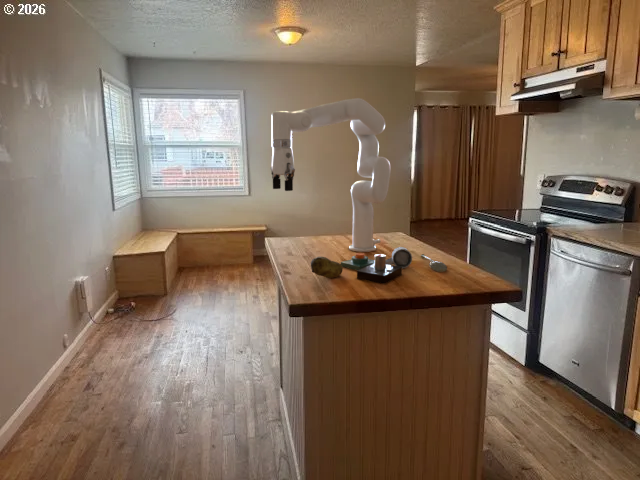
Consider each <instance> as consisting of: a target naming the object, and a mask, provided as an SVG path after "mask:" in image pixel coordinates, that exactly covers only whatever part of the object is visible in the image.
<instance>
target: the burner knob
mask: <svg viewBox="0 0 640 480" xmlns="http://www.w3.org/2000/svg"><path fill="white" fill-rule="evenodd" d="M374 260H375V264H374V269H376V270H385V268H386V260H387V255H386V254H383V253H377V254H374Z"/></svg>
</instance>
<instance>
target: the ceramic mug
mask: <svg viewBox="0 0 640 480" xmlns="http://www.w3.org/2000/svg"><path fill="white" fill-rule="evenodd" d="M412 262H413V255H412V252H410V250H409V249H407V248H406V247H404V246H399V247H395V248H394V249H393V251H392V253H391V257H389V258H386V265H392V266H398V267H402V269H407V268H409V266H411V264H412Z"/></svg>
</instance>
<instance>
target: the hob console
mask: <svg viewBox="0 0 640 480" xmlns="http://www.w3.org/2000/svg"><path fill="white" fill-rule="evenodd" d="M374 264H375V263H374ZM374 264H372V265H369V266H367V267H365V268H363V269H360V270H356V279H357V280H361V281H367V282H372V283H377V284H381V285H387V284H388V283H390V282H392V281H393V280H396V279H397V278H399V277H400V276H402V275H403V268H402V267H398V266H395V265H393V264H392V265H386V268H385V270H376V269H374Z"/></svg>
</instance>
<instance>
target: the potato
mask: <svg viewBox="0 0 640 480" xmlns="http://www.w3.org/2000/svg"><path fill="white" fill-rule="evenodd" d="M310 268H311V273H313V274H315V275H316V276H318V277H319V276H320V277H324V278H327V279H334V278H337V277H339V276H340V275H342V273H343V270H344V267H342V265H341V262H340V263H339V262H337V261H334V260H331V259H329V258H328V257H325V256H316V257H314V258H312V259H311V262H310Z"/></svg>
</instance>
